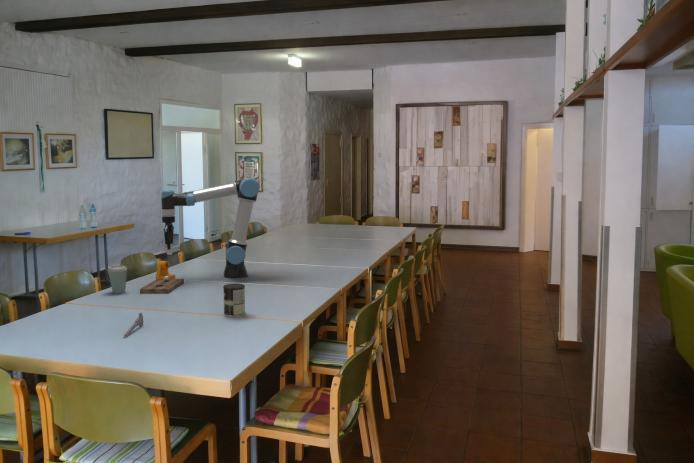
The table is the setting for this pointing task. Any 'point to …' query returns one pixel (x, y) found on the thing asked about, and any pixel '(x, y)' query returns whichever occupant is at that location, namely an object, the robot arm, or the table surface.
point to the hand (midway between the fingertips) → (169, 254)
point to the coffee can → (234, 300)
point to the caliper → (137, 322)
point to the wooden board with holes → (162, 286)
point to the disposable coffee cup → (117, 278)
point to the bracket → (163, 270)
